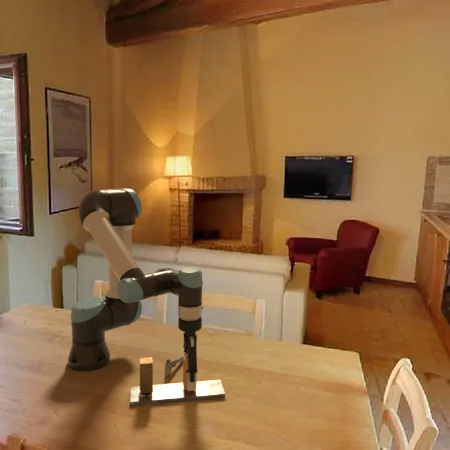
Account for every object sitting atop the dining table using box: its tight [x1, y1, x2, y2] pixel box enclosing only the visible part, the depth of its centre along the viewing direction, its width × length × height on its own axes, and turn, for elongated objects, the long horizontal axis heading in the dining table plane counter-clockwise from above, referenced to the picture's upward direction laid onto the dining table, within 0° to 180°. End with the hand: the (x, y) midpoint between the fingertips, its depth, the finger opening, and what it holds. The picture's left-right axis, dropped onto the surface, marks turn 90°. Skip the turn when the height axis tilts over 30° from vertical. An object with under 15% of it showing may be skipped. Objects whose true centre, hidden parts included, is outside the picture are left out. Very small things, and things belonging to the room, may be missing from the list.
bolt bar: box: [129, 356, 226, 408], centre depth 138 cm, size 9×30×13 cm, turn 101°
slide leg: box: [182, 354, 198, 390], centre depth 138 cm, size 4×4×11 cm
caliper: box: [164, 353, 184, 378], centre depth 158 cm, size 20×1×6 cm, turn 160°
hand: (189, 380), depth 139 cm, fingers open, 11 cm apart
